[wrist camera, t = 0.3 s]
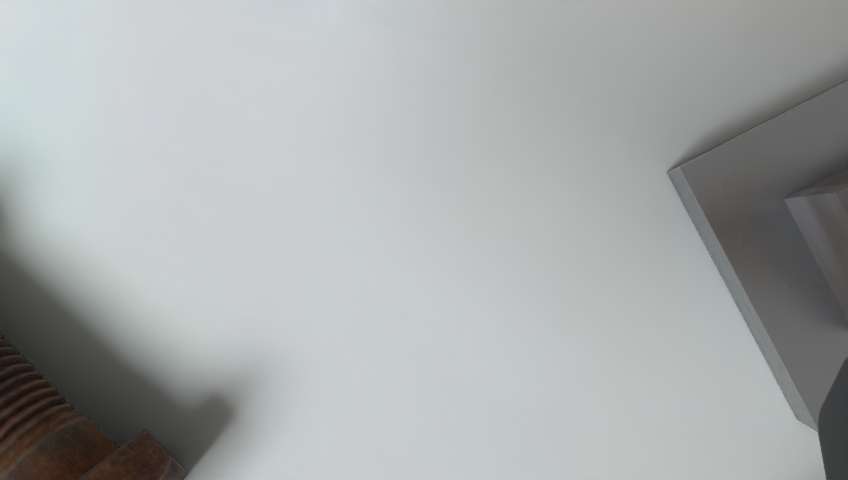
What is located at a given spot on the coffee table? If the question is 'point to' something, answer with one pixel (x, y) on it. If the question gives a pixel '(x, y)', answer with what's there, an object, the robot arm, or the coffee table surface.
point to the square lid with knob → (776, 240)
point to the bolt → (64, 435)
